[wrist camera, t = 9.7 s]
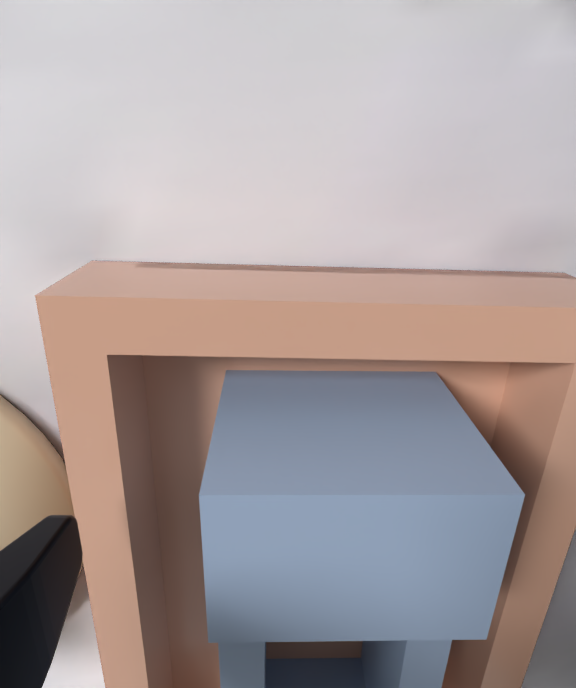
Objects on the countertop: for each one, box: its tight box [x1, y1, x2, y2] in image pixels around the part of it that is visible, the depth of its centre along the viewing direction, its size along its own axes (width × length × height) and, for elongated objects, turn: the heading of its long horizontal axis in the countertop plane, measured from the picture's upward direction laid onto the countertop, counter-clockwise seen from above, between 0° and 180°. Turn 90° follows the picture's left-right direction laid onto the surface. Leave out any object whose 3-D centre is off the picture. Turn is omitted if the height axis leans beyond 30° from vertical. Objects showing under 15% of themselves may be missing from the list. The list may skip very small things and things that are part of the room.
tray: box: [35, 261, 576, 688], centre depth 12 cm, size 10×15×2 cm, turn 178°
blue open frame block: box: [199, 370, 525, 688], centre depth 10 cm, size 10×5×4 cm, turn 179°
